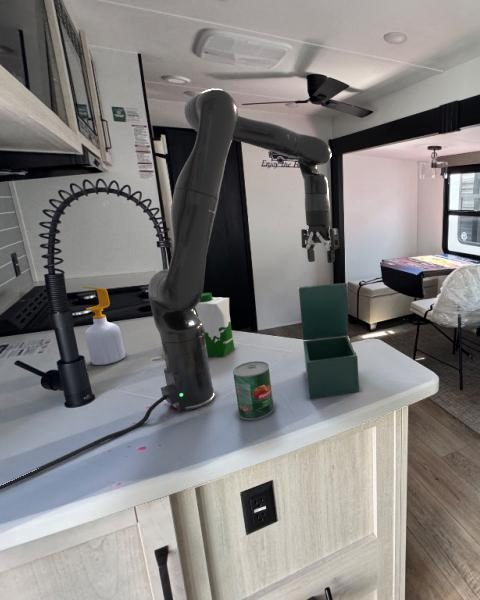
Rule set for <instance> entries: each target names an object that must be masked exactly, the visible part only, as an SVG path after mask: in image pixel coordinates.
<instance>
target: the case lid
mask: <svg viewBox="0 0 480 600" xmlns="http://www.w3.org/2000/svg"><path fill="white" fill-rule="evenodd" d="M298 294H299V295H298V296H299V307H300V318H301V332H302V340H303V341H307V340H316V339H325V338H333V337H342V336H348V334H349V333H348V329H349V328H348V284H347V282H342V283H329V284H320V285H319V284H317V285H307V286H306V285H305V286H298Z"/></svg>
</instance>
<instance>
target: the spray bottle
mask: <svg viewBox="0 0 480 600" xmlns="http://www.w3.org/2000/svg"><path fill="white" fill-rule="evenodd" d="M82 289H90V290H95V291H96V294H97V298H98V304H97V305H94V306H90V307H87V308H85V310H86V311H91V312H92V313H94V315H93V316H92V321H93V324H92V325H90V326H89V327H88V328H87V329H86V330H84V331H85V332H84V337H85V341H86V346H87V350H88V354H89V357H90V363H91V364H92V365H95V366H104V365H110V364H113V363H117V362H119V361H121V360H123V359H125V357H126V352H125V347H124V341H123V338H122V333H121V329H120V327H119V326H118V325H117V324H115V323H113V322H109V321H108V320H107V316H106V314H103V313H102V312H103V311H104V309H105V308H108V307H110V304H111V301H110V298H109V294H108V290H107V289H106V288H104V287H92V286H82Z"/></svg>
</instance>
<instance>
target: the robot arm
mask: <svg viewBox="0 0 480 600" xmlns="http://www.w3.org/2000/svg"><path fill="white" fill-rule="evenodd" d="M183 111H184V117H185V120H186V122H187V124H188V125H189V126H190V127H191V129H192V130H194V131H195V132H197V133H196V139H195V142H194V146H193V148H192V150H191V153H190V155H189V156H188V158H187V160H186V161H185V163H184V166H183V167H182V169H181V171H180V173H179V175H178V177H177V180H176V183H175V186H174V191H173V195H172V200H171V205H170V221H171V229H172V238H173V239H172V240H173V247H172V255H171V259H170V263H169V267H168V269H167V268H166V269H162V270H160V271H157V272H156V273H154V274H153V276H152V277H151V278H150V280H149V283H148V288H147V289H148V290H147V291H148V298H149V304H150V308H151V313H152V317H153V321H154V324H155V328H156V329H157V331H158V333H159V336H160V341H161V346H162V352H163V357H164V362H165V368H164V369H163V373H164V378H165V379H164V380H165V384H166V385H165V386H161V387H160V391H161V397H160V398H159V399H157V400H156V401H154V403H153V404H151V406H150V407H149V408H148V409H147V411H146V412H145V414H144V416H143V418H142V419H141V420H139V421H138V422H137V423H135V424H133V425H131V426H129V427H127V428H124V429H121V430H119V431H115V432H113V433H110V434H107V435H105V436H103V437H101V438H99V439H97V440H94V441H91V442H90V443H88V444H85V445H83V446H82V447H79V448H78V449H75V450H72V451H71V452H68V453H67V454H65V455H63V456H60V457H58V458H56V459H54V460H51V461H48V462H47V463H45V464H43V465H41V466H38V467H36V468H35V469H37V470H35V471H33V472H30V473H28V474H26V475H24V476H21V475H20V476H21V477H19V478H17V479H15V480H13V481H10V482H8V483H6V484H4V485H1V486H0V491H2V490H4V489H5V488H7V487H11V486H12V485H15V484H17V483H18V482H21V481H23V480H25V479H28V478H29V477H32V476H35V475H36V474H39V473H40V472H42V471H46V470H47V469H50V468H52V467H53V466H56V465H58V464H60V463H62V462H64V461H66V460H68V459H70V458H72V457H74V456H77V455H78V454H81V453H83V452H85V451H87V450H89V449H91V448H93V447H96V446H98V445H100V444H102V443H104V442H106V441H109V440H111V439H114V438H116V437H120V436H121V435H124V434H127V433H129V432H131V431H133V430H135V429H137V428H139V427H141V426H142V425H143V424H145V423H146V422H147V421H148V419H149V417H150V415H151V413H152V412H153V411H154V409H156V408H157V407H158V406H159V405H160V404H161V403H163V402H164V401H166V402H168V403H169V404H170V406H172V407H173V408H174V409H175V410H177V411H178V412H181V413H182V412H184V411H190V410H195V409H200V408H201V407H204V406H206V405H208V404H209V403H211V402H212V401H214V399H215V392H214V386H213V381H212V373H211V368H210V361H209V356H208V354H207V348H206V342H205V335H204V329H203V324H202V322H201V321H200V319H199V318H198V314H197V312H196V310H195V307H196V306H197V304H198V303H199V301H200V300H201V297H202V294H203V293H204V286H205V275H206V274H205V273H206V264H207V255H208V250H209V245H210V241H211V236H212V231H213V226H214V222H215V218H216V213H217V209H218V205H219V199H220V192H221V187H222V182H223V178H224V172H225V167H226V163H227V158H228V154H229V150H230V147H231V145H232V142H233V141H235V142H239V143H244V144H247V145H250V146H255V147H257V148H260V149H264V150H266V151H269V152H273V153H276V154H278V155H281V156H284V157H287V158H289V159H290V158H292V159H296V158H297V163H298V167H299V170H300V173H301V176H302V179H303V182H304V184H303V185H304V186H303V187H304V210H305V211H304V212H305V221H306V222H305V224H306V226H308V228H301V229H300V234H301V248H302V249H305V250H306V254H307V255H306V256H307V260H308V262H309V263H314V262H315V261H316V256H315V247H316V245H317V244H321V245H323V246H324V247H325V249H326V257H327V258H326V260H327V263H328V264H333V263H335V260H336V257H335V250H337V249H339V248H340V239H339V238H340V237H339V229H338V228H336V227H335V228H330V225H331V224H332V222H331V220H332V219H331V202H330V197H329V187H328V186H329V184H328V183H329V182H328V177H327V175H325V174H323V173H320V172H319V169H318V166H322V165H325V164H327V163H328V162H329V161H330V159H331V157H332V149H331V147H330V145H329V144H328V143H327V141H325V140H324V139H322V138H320V137H317V136H314V135H308V134H303V133H298V132H295V131H293V130H291V129H288V128H286V127H283V126H281V125H279V124H275V123H271V122H268V121H262V120H261V121H260V120H256V119H253V118H247V117H245V116H242V115H239V111H238V106H237V104H236V101H235V100H234V98H233V97H232V96H231V94H230V93H229V92H228V91H226V90H223V89H221V88H211V89H207V90H204V91H202V92H199V93H197V94H195V95H193V96H191V97H190V98H188V100H187V101H186V103H185V105H184V109H183ZM38 468H39V469H38Z"/></svg>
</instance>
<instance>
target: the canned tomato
mask: <svg viewBox="0 0 480 600" xmlns="http://www.w3.org/2000/svg"><path fill="white" fill-rule="evenodd" d="M232 374H233V380H234V387H235V396H236V401H237V409H238V416H239V418H241V419H243V420H246V421H255V420H256V421H257V420H260V419H263V418H265V417H267V416H269V415H271V414H272V412H273V411H274V409H275V408H274V400H273V391H272V383H271V373H270V365H269V363H268V362H265V361H259V360H254V361H253V360H252V361H248V362H243V363H241V364H238V365H237V366H235V367H234V368H233V370H232Z"/></svg>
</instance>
